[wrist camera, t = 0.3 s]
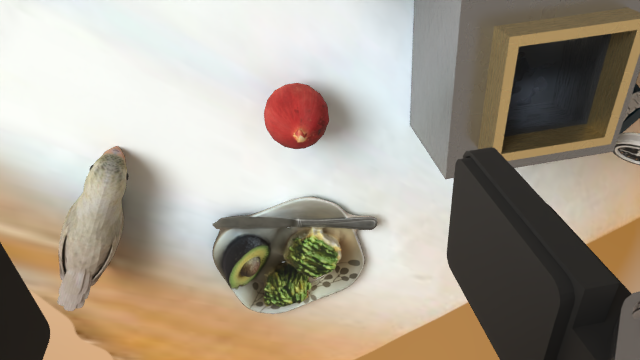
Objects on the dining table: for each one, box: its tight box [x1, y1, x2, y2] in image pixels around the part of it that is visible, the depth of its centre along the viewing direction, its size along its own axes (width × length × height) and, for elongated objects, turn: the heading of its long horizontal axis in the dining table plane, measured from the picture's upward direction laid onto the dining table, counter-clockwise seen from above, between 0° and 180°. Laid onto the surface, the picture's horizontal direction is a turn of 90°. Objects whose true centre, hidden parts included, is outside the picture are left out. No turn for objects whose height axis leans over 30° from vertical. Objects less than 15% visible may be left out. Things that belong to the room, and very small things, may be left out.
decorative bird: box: [57, 146, 128, 311], centre depth 48 cm, size 5×16×8 cm, turn 155°
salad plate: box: [213, 197, 377, 314], centre depth 57 cm, size 19×18×5 cm
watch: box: [613, 83, 640, 165], centre depth 49 cm, size 6×8×11 cm
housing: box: [410, 0, 640, 179], centre depth 42 cm, size 16×16×12 cm
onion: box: [264, 83, 329, 149], centre depth 44 cm, size 6×6×8 cm
